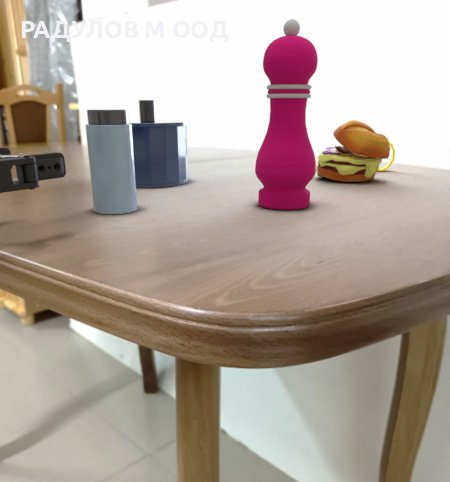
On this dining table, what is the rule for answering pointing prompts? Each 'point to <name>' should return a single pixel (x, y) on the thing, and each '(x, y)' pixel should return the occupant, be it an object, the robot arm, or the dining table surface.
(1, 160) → the robot arm
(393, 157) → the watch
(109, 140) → the shaker
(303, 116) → the pepper mill
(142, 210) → the dining table surface
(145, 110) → the pot lid
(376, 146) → the cheeseburger
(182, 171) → the pot
